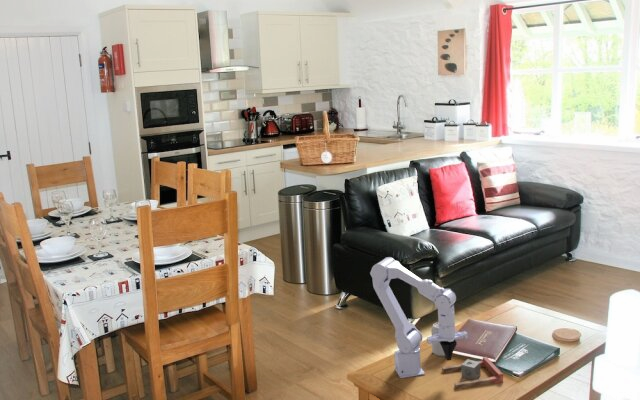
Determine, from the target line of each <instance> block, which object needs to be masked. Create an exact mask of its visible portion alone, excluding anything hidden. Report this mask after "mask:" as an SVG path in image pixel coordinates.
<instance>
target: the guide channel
mask: <svg viewBox="0 0 640 400" xmlns="http://www.w3.org/2000/svg"><path fill="white" fill-rule="evenodd" d="M477 362H480V368H483V367H482V366H484V368H485V367H486V368H487V369H488V370H487V369H486V370H487V371H488V372H489V373H490V374H491V375H492V376H490V377H486V378H479V379H478V378H477V379H476V380H467V381H466V380H464V381H460V382H459V381H458V382H454V388H455V390H459V389H465V388H472V387H478V386H485V385H491V384H497V383H503V382H504V373H503V372H501V371H502V370H500V369H499V368H498V367H497V365H495V364H494V363H493V362H492V361H491V360H490V359H489V358H488V357H487V356H483V357H482V360H477ZM461 364H462V363H459V364H455V365H454V364H452V365H448V366H443V367H441V371H442V372H443V373H451V372H457V371H462V369H461Z"/></svg>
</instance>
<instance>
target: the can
mask: <svg viewBox="0 0 640 400" xmlns="http://www.w3.org/2000/svg"><path fill="white" fill-rule="evenodd" d="M430 330H431V336H434V335H436V334H439V323H438V321H437V322H435V323H433V324H432V327H431V328H430ZM431 347H432V348H431V349H432V353H433V354H434V355H435V356H438V357H445V354H444V351H443V348H442V346H441V344H440V343H439V342H436V343H432V344H431Z"/></svg>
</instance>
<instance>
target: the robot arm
mask: <svg viewBox="0 0 640 400" xmlns="http://www.w3.org/2000/svg"><path fill="white" fill-rule="evenodd" d="M369 274H370V276H371V278H372V280H371V281H372V286H373V290H374V291H375V293H376V295H377V297H378V299H379V300H380V303H381V304H382V306H383V309H384V310H385V311H386V314H387V315H388V317H389V319H390V321H391V323H392V325H393V327H394V329H395V331H394V338H395V341H396V346H397V348H398V350H396V351H394V353H393V354H394V370H395V372H396V373H397V375H398V377H399V378H400V379H403V378H411V377H418V376H422V375H423V376H424V375H426V373H425V371H424V370H423V369H422V365H421V346H420V345H421V343H422V341H423V334H422V332H421V331H420V330H418V328H417V327H416V325H415V324H414V323H412V322H409V320H408V318H407V316H406V314H405V313H404V310H403V309H402V307H401V305H400V303H399V302H398V299H397V298H396V296H395V295H394V293H393V292H394V291H393V290H392V288H391V287H390V282H391V280H393V279H399V280H402V281H404V283H407V284H409V285H411V286H412V287H415V288H416V289H417V291H418V293H419V294H420V295H422V296H424V298H427V299H429V301H432V302H433V303H434V304H435V307H436V308H437V317H438V321H437V322H438V323H439V334H436V335H434V336H432V335H431V336H427V337H426V343H427V344H428V345H432V343H436V342H439V343H440V344H441V346H442V348H443V351H444V354H445V356H444V357H445V360H446V362H447V361H448V362H449V361H451V360H452V357H453V353H454V351H455V348H456V347H457V345H458V344H457V340H460V339H466V340H467V339H468V338H469V336H468V332H467V331H456V319H455V318H456V317H455V302H456V301H457V296H456V293H455V292H454V290H452V289H451V288H444V287H441V286H439V285H437V284H436V283H434V281H433V280H431V279H428V278H427V279H422V278H421V277H419V276H417V275H416V274H414V273H413V272H411V271H410V270H408V269H407V268H406V267H404V266H403V265H402V264H401V263H400V261H399V260H395V259H394V258H393V257H391V256H388V257H385V258H383V259H382V260H380V261H379V262H377V263H375V264H374V265H373V266H372V267H371V270H370V272H369Z"/></svg>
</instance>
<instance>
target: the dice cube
mask: <svg viewBox="0 0 640 400" xmlns="http://www.w3.org/2000/svg"><path fill="white" fill-rule="evenodd" d="M477 361H478V360H477ZM477 361H476V360H472V359H469V358H467V359H466V360H465V361H464V362H462V363H460V364H461V369H462V370H461V378H464V379H468V380H469V381H471V380H478V378H479V377H480V376H481V373H482V371H481V367H480V362H477Z"/></svg>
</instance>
